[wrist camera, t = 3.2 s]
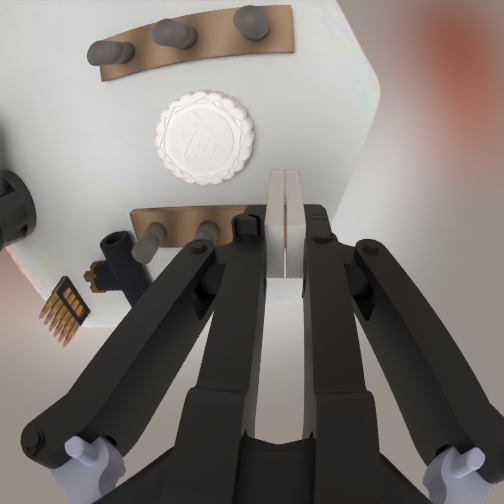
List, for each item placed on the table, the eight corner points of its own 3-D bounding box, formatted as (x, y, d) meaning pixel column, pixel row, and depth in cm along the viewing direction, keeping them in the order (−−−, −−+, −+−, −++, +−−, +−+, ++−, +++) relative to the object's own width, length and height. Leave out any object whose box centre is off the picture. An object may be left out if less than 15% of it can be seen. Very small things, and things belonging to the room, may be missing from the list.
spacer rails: (143, 242, 44) (123, 271, 38) (103, 42, 25) (69, 42, 19) (295, 242, 41) (296, 275, 35) (290, 8, 22) (292, -9, 16)
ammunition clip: (90, 311, 57) (68, 350, 48) (85, 311, 58) (63, 349, 48) (67, 276, 51) (39, 315, 42) (62, 276, 52) (34, 314, 42)
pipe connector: (104, 315, 49) (67, 253, 40) (114, 297, 53) (82, 236, 45) (153, 316, 47) (118, 247, 39) (161, 296, 52) (132, 228, 43)
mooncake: (146, 127, 33) (134, 133, 30) (217, 70, 28) (210, 70, 25) (199, 193, 38) (192, 205, 35) (273, 147, 33) (273, 154, 31)
